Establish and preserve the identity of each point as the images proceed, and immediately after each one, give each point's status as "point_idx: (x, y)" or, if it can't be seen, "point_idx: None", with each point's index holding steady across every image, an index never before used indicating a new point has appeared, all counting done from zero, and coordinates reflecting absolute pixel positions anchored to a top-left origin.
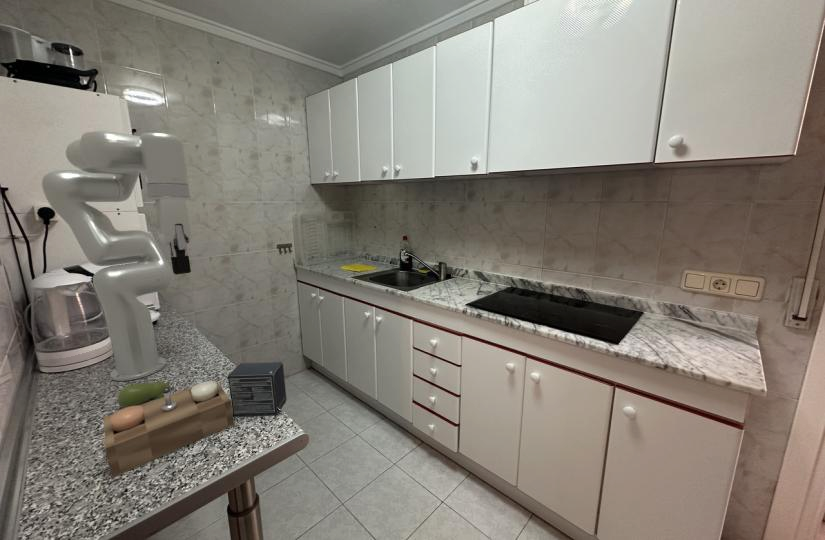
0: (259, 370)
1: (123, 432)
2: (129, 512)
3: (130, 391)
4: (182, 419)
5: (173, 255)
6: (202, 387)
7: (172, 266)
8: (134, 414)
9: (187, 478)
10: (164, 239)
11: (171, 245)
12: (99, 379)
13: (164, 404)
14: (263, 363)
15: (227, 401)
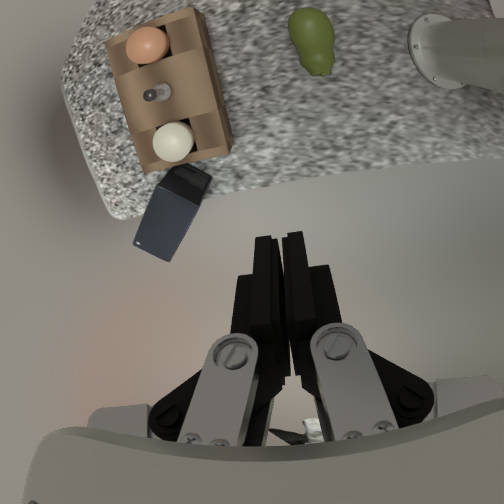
0: (150, 230)
1: None
2: (72, 80)
3: (297, 22)
4: (125, 114)
5: (212, 353)
6: (169, 141)
7: (291, 260)
8: (133, 57)
9: (89, 119)
10: (49, 470)
11: (210, 442)
12: (440, 4)
13: (165, 85)
14: (176, 239)
15: (142, 169)
